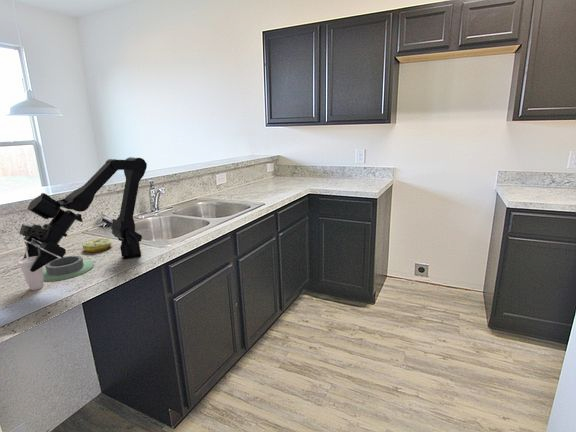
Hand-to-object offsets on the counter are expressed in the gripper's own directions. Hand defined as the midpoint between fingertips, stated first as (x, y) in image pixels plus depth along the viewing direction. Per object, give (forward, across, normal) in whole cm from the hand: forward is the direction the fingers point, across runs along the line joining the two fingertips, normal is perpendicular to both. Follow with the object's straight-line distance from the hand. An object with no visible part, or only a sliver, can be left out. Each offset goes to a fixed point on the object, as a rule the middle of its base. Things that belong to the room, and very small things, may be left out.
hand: (26, 268), depth 107 cm
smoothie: (+4, 0, +6) cm, 7 cm away
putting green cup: (-4, -7, +14) cm, 16 cm away
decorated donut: (-16, -21, +27) cm, 38 cm away
